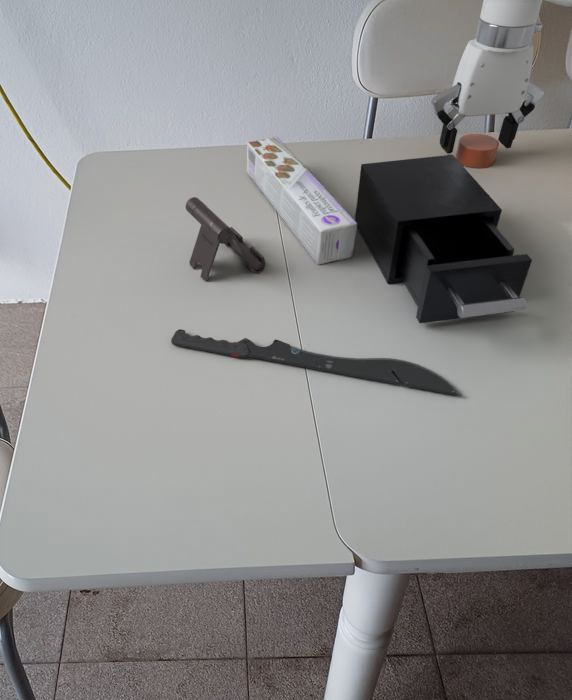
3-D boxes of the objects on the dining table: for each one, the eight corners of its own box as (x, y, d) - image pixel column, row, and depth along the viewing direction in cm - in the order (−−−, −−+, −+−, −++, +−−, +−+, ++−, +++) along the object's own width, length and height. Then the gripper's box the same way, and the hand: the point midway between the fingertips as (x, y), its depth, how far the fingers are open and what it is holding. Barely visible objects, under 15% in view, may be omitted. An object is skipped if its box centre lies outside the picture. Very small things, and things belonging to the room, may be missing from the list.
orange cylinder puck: (484, 149, 107) (488, 131, 105) (501, 166, 102) (505, 148, 100) (449, 153, 106) (453, 135, 104) (464, 169, 102) (468, 152, 100)
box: (354, 257, 86) (359, 220, 82) (318, 266, 84) (320, 229, 81) (276, 168, 105) (276, 134, 101) (245, 174, 104) (245, 140, 100)
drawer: (533, 337, 72) (553, 284, 67) (434, 350, 71) (447, 297, 66) (466, 247, 85) (479, 198, 80) (381, 257, 84) (389, 207, 79)
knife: (462, 372, 69) (464, 368, 69) (461, 400, 66) (462, 396, 66) (182, 323, 77) (181, 319, 76) (169, 345, 74) (169, 342, 74)
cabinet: (484, 272, 82) (502, 209, 76) (387, 284, 81) (398, 221, 75) (439, 213, 93) (452, 154, 87) (354, 223, 92) (361, 163, 86)
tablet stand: (266, 271, 84) (266, 215, 78) (213, 291, 82) (209, 234, 76) (232, 239, 90) (231, 185, 84) (182, 257, 87) (176, 202, 82)
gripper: (548, 20, 95) (515, 132, 107) (435, 29, 93) (414, 141, 105) (576, 37, 89) (538, 153, 101) (456, 46, 88) (431, 163, 100)
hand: (475, 147), depth 103 cm, fingers open, 9 cm apart
